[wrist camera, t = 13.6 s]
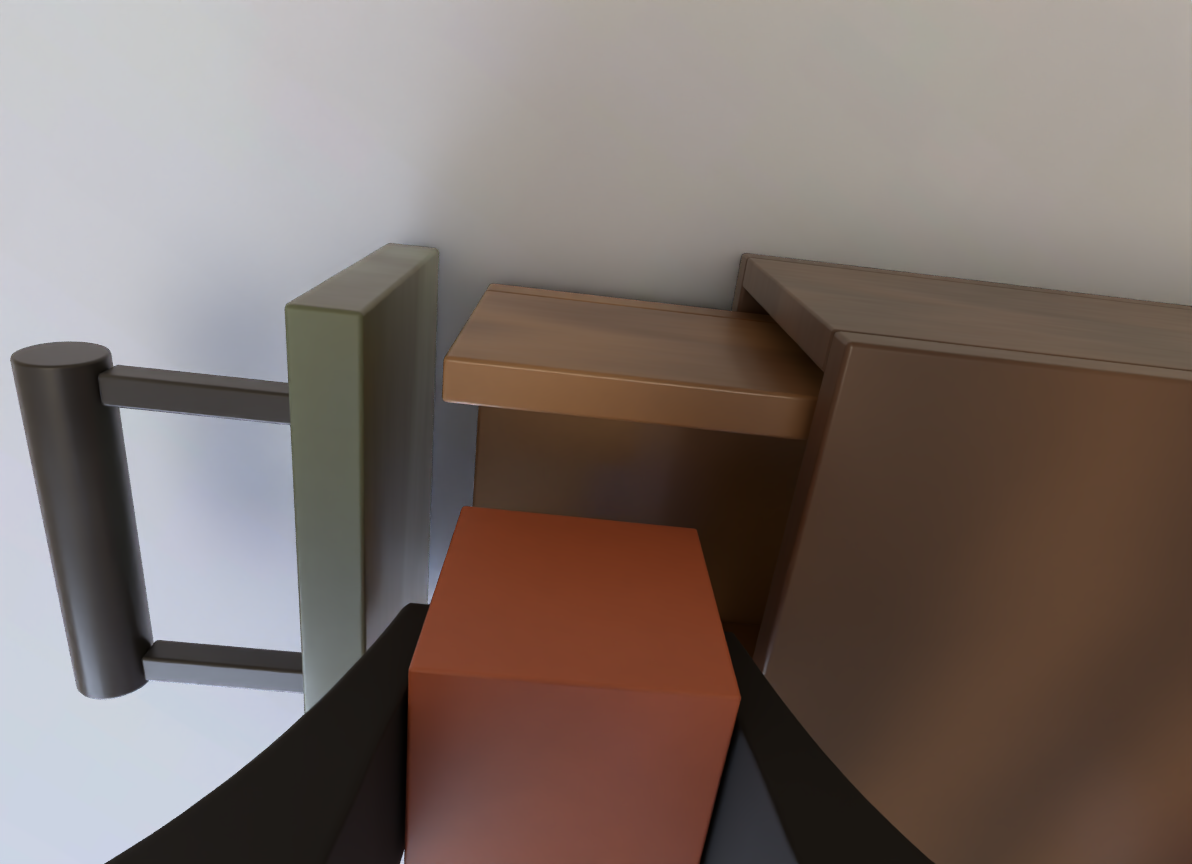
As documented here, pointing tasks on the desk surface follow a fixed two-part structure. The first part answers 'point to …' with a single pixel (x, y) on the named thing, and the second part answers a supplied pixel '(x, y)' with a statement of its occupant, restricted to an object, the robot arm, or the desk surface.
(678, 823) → the block
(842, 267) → the cabinet
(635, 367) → the drawer
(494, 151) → the desk surface
